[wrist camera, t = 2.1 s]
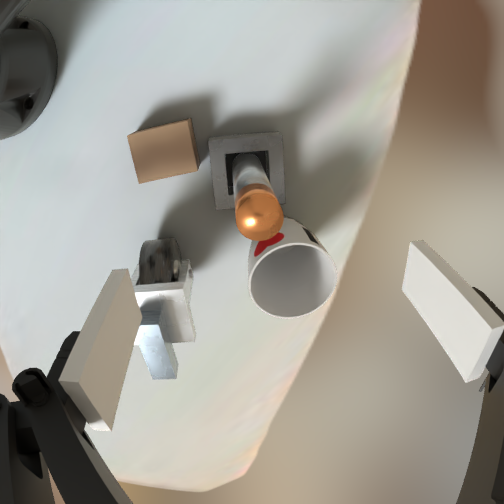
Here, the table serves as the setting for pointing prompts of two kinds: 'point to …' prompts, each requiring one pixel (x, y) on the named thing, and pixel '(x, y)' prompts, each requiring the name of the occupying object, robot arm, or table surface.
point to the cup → (290, 272)
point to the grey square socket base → (246, 143)
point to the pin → (255, 199)
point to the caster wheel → (163, 305)
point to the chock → (164, 151)
